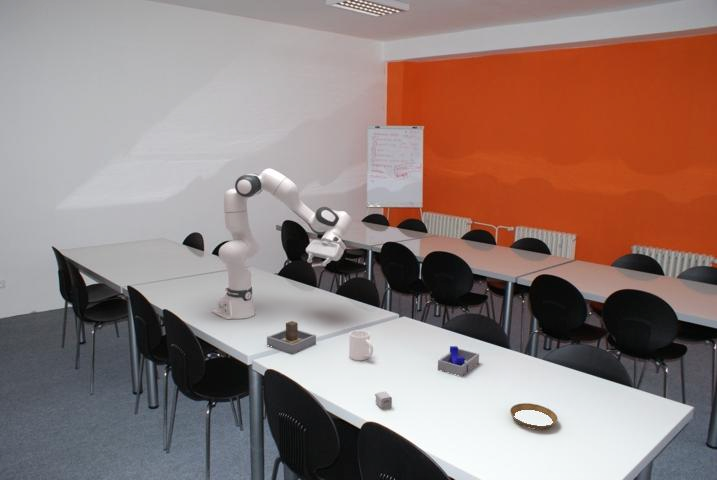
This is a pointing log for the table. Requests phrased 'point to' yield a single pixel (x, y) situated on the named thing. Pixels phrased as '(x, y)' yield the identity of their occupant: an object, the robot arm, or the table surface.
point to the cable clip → (456, 357)
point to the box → (287, 347)
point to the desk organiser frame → (456, 369)
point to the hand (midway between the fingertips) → (315, 263)
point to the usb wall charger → (383, 400)
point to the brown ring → (537, 408)
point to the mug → (360, 345)
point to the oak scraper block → (291, 332)
